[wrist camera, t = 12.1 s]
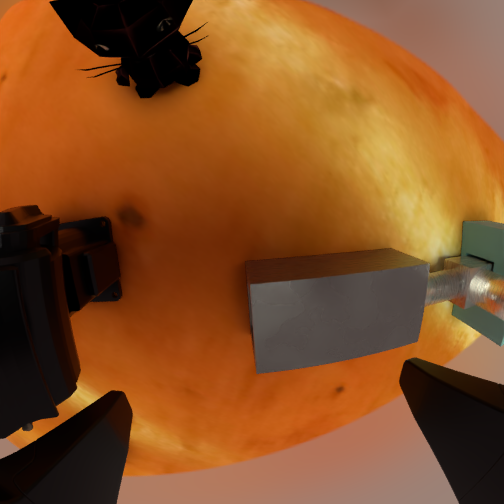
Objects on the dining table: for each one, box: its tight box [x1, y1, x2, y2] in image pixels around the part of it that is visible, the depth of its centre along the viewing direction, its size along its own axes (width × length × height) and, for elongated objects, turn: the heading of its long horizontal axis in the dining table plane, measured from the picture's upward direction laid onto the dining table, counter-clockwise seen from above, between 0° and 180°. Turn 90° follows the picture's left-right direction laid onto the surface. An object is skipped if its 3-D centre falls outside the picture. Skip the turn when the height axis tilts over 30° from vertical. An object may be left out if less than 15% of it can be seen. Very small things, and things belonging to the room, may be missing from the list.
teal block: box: [452, 221, 504, 346], centre depth 18 cm, size 5×10×8 cm, turn 4°
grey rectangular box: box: [245, 248, 430, 374], centre depth 18 cm, size 12×6×5 cm, turn 94°
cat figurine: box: [49, 0, 208, 98], centre depth 10 cm, size 7×7×12 cm
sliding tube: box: [424, 255, 504, 321], centre depth 15 cm, size 19×4×11 cm, turn 94°
